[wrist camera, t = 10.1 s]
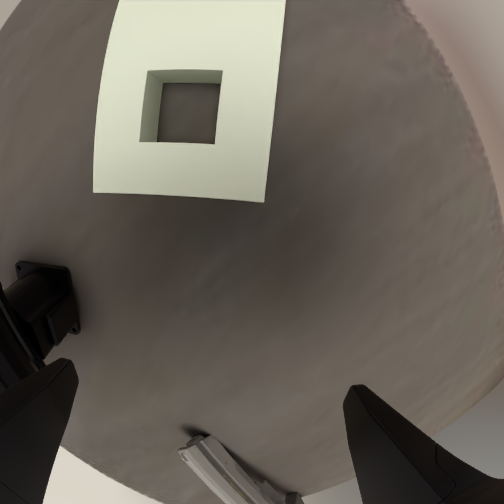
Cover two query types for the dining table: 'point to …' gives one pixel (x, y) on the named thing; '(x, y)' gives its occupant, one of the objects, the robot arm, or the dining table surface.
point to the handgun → (228, 475)
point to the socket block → (188, 71)
